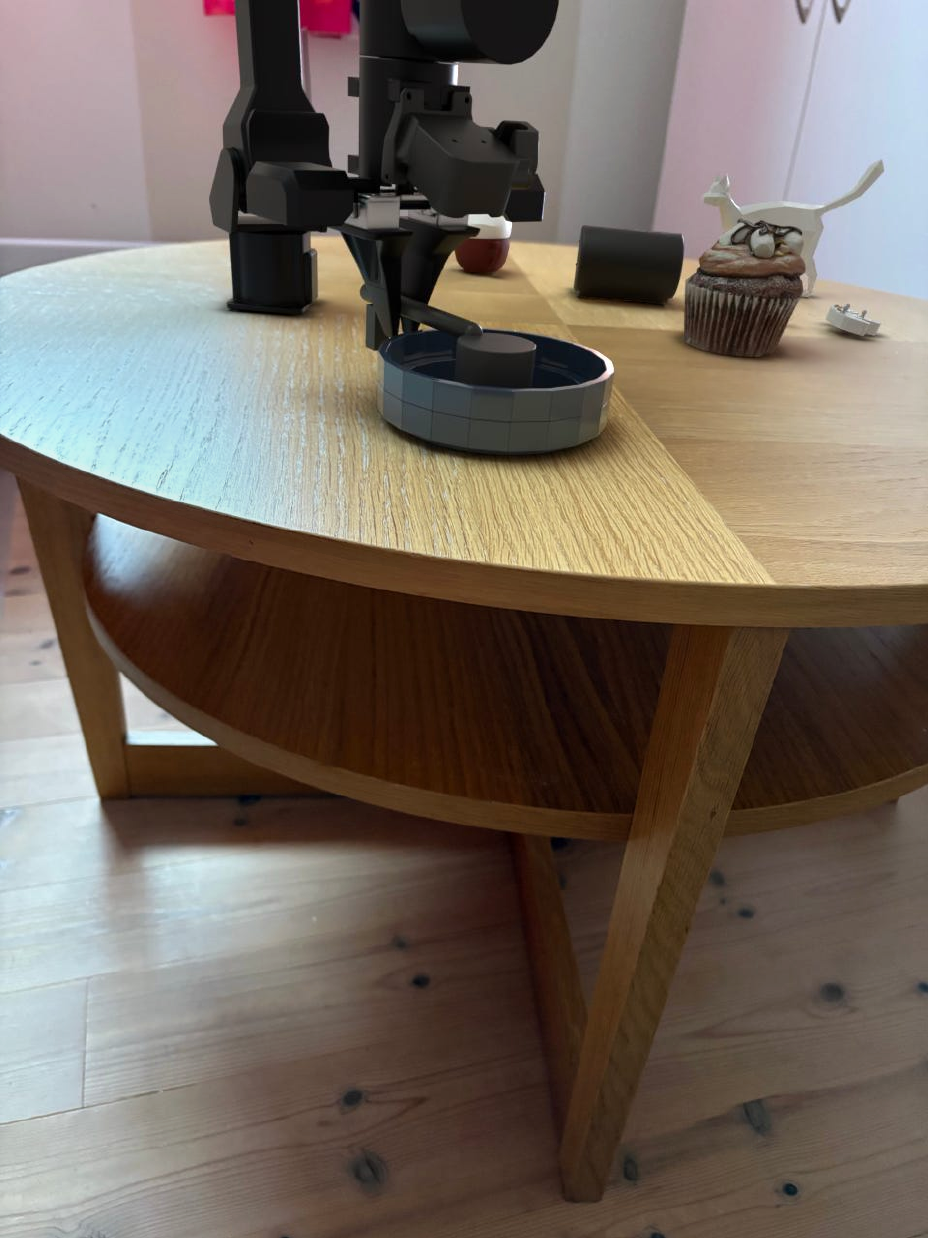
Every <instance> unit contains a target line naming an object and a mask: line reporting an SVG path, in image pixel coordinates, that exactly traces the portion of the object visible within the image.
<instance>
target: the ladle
mask: <svg viewBox="0 0 928 1238" xmlns="http://www.w3.org/2000/svg"><path fill="white" fill-rule="evenodd" d="M359 296H360V297H361V300H363V301H365V302H367V303H366V308H365V347H366V348H367V349H369V350H371V351H373V352H378V350H379V348H380V346H381V344H382V343H383V341H385V340H387V339H389V338H390V337H387V336H386V335H385V334H384V331H383V329H382V326H381V324H380V321H379V319H378V316H377V313H376V311H375V308H374V306H373V303H372V301H371V298H370V296H369V293H368V290H367V288H366V285H365V283H363V284H362V285H361V286H360V289H359ZM401 315H402V316H404V317H407V318H409V319H412V320H414V321H417V322H419V323H421V324H422V325H424V326H427V327H428V328H430V329H433V328H434V329H436V330H439V331H441V332H444V333H446V334H449V335H451V336H454V337H456V338H458V340H457V350H456V365H455V379H454V382H458V383H464V384H469V385H476V386H487V387H499V388H510V389H531V388H532V379H533V370H534V361H535V353H536V345H535V344H534V343H533V342H531V341H529V340H527V339H524V338H521V337H517V336H512V335H506V334H498V333H483V330H482V328H483V327H482V326H481V325H480V324H479V323H477V322H474V321H472V320H469V319H467V318H465V317H462V316H459V315H456V314H453V313H451V312H448V311H445V310H443V309H440V308H437V307H435V306H432V305H430V304H428V305H427V304H424V303H422V302H419V301H416V300H414V299H411V298H408V297H406V296H403V295H401Z"/></svg>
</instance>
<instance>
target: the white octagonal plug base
mask: <svg viewBox="0 0 928 1238" xmlns="http://www.w3.org/2000/svg"><path fill="white" fill-rule="evenodd" d="M850 307H851V304H850V303H846V304H845V305H844V306H842V305H839V304H834V305H832V304H831V305H830V308H829V309H828V312H827V314H826V316H825V321H826V322H828V323H829V324H830V325H832V326H834V327H835V328H838V329H840V330H842V331H845V332H848V333H851V334H854V335H857V336H861V337H864V336H865V335H869V336H873V337H875V336H876V335H877V333H878V332H879V329H880V326H881V325H882V322H879V321H877V320H874V319H870V318H868V317H865V316H866V314H867V313H868V312H867V309H863V310H862V311H861V314H860V315H859V312H858V311H856V310H852V309H850ZM800 315H802V314H798V316H800ZM809 315H810V316H814V317H815V315H813V314H811V313H809ZM815 318H816V317H815ZM792 320H793V318H790V319H789V321H792ZM816 320H818V318H816ZM819 320H820V321H821V320H822V321H823V319H819ZM789 321H788V322H789Z"/></svg>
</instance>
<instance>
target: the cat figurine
mask: <svg viewBox="0 0 928 1238" xmlns="http://www.w3.org/2000/svg"><path fill="white" fill-rule="evenodd" d="M884 172H885V167H884V162H883V158H880V159H879V160H877V161H874V162H873V163H871V164H870V165H869V166H868V168H867V169H866V170H865V172H864V173H863V174H862V176H861V177H860V178H859V180H858V181H857V182H856V184H855V185H854V186H853V187H852V189H851V190H849V191H848V192H847V193H845V194H843V195H842V196H840V197H838V198H836V199H834V200H831V201H829V202H827V203H825V204H814V203H813V204H811V203H803V202H795V201H788V200H775V201H773V200H772V201H765V202H757V203H753V204H747V205H742V206H738V205H736V204H735V202H734V201H733V198H732V196H731V195H732V194H731V190H730V188H731V187H730V186H731V185H730V181H729V176H728V173H726V174H725V175H724V176H723V178H721V175H720V172H719V171H717V173H716V175H715V177H714V181H713V183H712V184H711V185H710V188H709V190H708V191H707V192H705V193H704V194H702V195H701V196H700V197H701V198H700V202H701V203H702V204H705V205H707V206H709V207H712V208H713V207H716V208H718V210H719V214H720V221H721V227H722V228H721V229H722V235H723V234H725V233H726V232H728V231H729V230H730V229H732V228H733V227H734V226H736V225H737V221H738V219H743V220H746V221H749V222H751V223H752V224H755V223H756V222H759V221H760V220H763V221H765V222H767V223H772V224H776V225H780V226H794V227H796V228H798V229H800V230H801V231H802V236H801V237H802V238H803V242H804V245H803V248H802V251H801V254H800V256H801V257H802V258H803V260H804V263H805V266H806V272H805V273H804V275H806V276H807V291H806V292H803V294H802V295H801V297H800V298H810V296H811V294H812V292H813V290H814V287H815V284H816V282H817V277H818V272H817V269H816V263H815V259H814V255H815V252H816V249H817V247H818V244H819V242H820V238H821V236H822V233H823V230H824V228H825V226H824V224H823V220H822V218H823V216H824V215H825V214H826V213H827V212H831V211H833V210H836V209H839V208H841V207H844V206H845V205H848V204H849V203H852V202H853V201H855V200H857V199H859V198H861V197H862V196H863V195H864V194H865V193H866V192H867V191H868V190H869V189H870V188H871V186H873V185H874V183H875V182H876V181H877V180H878V179H879V178H880V177H881V176H882V174H883V173H884ZM801 277H802V275H801V276H800V277H799V278H800V279H801Z"/></svg>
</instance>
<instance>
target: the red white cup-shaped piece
mask: <svg viewBox="0 0 928 1238" xmlns="http://www.w3.org/2000/svg"><path fill="white" fill-rule="evenodd" d="M468 225H469V226H473V227H477V228H480V229H481V230H480V233H479V234H478V235H477V237H471V238H468V239H466V240H465V241H464V242H463V243H462V244H461V245H460V246H459V247H457V248H456V249H455V250H454V251H453V252H454V256H455V260H456V262H457V265H459V267H461V268H462V269H463V270H464V271H465V272H468V273H478V274H491V273H496V272H498V271H499V270H500V269H502V268H503V266H504V265H505V264H506V262H507V258H508V255H509V251H510V248H511V247H510V246H511V234H512V226H513V222H509V221H506V220H505V218H504V217H503V216H501V217H496V218H491V217H490V216H489V215H488V214H473V215H469V216H468Z"/></svg>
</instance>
